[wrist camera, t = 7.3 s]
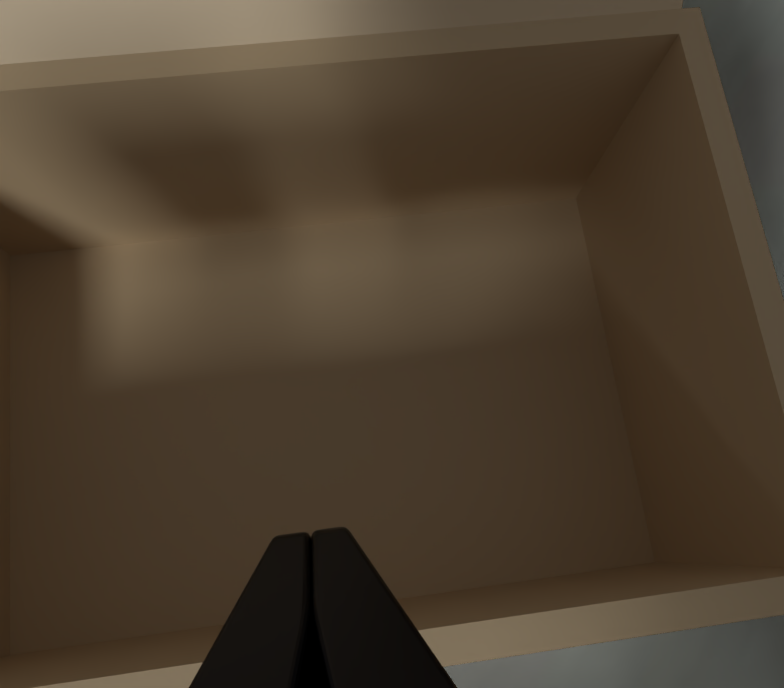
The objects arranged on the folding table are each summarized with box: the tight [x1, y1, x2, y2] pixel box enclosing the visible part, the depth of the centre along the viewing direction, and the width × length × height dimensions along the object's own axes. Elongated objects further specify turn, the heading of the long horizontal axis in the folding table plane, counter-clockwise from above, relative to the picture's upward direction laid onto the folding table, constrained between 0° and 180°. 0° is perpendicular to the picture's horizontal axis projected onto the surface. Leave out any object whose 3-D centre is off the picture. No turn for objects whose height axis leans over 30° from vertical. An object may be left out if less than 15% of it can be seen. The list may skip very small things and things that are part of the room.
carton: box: [0, 7, 784, 688], centre depth 17 cm, size 12×18×8 cm, turn 98°
